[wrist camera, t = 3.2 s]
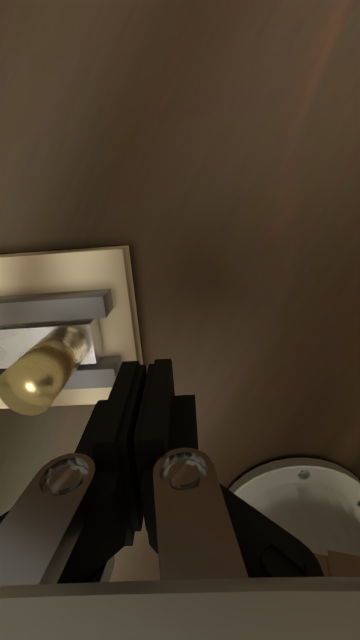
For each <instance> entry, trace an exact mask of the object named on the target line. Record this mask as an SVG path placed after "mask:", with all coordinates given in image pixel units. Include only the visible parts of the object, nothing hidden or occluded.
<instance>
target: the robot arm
mask: <svg viewBox="0 0 360 640" xmlns="http://www.w3.org/2000/svg"><path fill="white" fill-rule="evenodd" d="M143 515H144V519H145V525H146V530H147V531H148V538H149V544H150V546H151V547H152V548H153V549H154V550H155V551H156V553H157V554H158V555H159V568H160V580H156V581H124V582H109V580H110V577H111V574H112V571H113V567H114V561H115V560H114V555H115V554H116V553H117V552H118V551H119V550H120V549H122V548H123V547H124V546H133V540H134V533H135V531H141V529H142V523H143ZM0 640H360V480H359V479H358V478H357V477H356V476H355V475H353V474H352V473H351V472H350V471H348V470H347V469H345V468H343V467H341V466H339V465H337V464H335V463H331V462H328V461H324V460H321V459H313V458H288V459H282V460H277V461H273V462H270V463H267V464H264V465H261V466H259V467H257V468H255V469H253V470H251V471H249V472H247V473H246V474H244V475H243V476H242V477H241V478H239V479H238V480H237V481H236V482H235V483H234V484H233V485H232V486H231V487H230V488H229V489H227V488H225V487H224V486H223V485H221V484H220V483H219V481H218V478H217V475H216V471H215V468H214V465H213V463H212V461H211V459H210V458H209V457H208V456H207V455H206V454H205V453H203V452H201V451H199V450H198V437H197V421H196V406H195V395H181V396H175V393H174V382H173V371H172V361H171V359H157V360H155V363H154V364H149V367H148V372H147V373H146V366H145V364H142V365H140V362H139V361H124V362H122V364H121V366H120V369H119V371H118V374H117V377H116V379H115V382H114V384H113V387H112V389H111V392H110V394H109V397H108V400H99V401H98V402H97V403H96V405H95V408H94V410H93V412H92V414H91V417H90V419H89V421H88V424H87V426H86V428H85V430H84V433H83V435H82V437H81V439H80V442H79V444H78V446H77V449H76V451H75V453H70V454H66V455H62V456H59V457H57V458H55V459H53V460H51V461H50V462H49V463H47V464H46V465H44V466H43V467H42V468H41V469H40V470H39V472H38V473H37V474H36V475H35V477H34V478H33V479H32V481H31V482H30V484H29V485H28V486H27V488H26V489H25V490H24V492H23V493H22V495H21V496H20V497H19V499H18V500H17V502H16V503H15V504H14V506H13V507H12V508H11V510H9V511H8V512H6V513H5V514H3V515H2V516H0Z"/></svg>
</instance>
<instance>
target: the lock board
mask: <svg viewBox="0 0 360 640" xmlns="http://www.w3.org/2000/svg"><path fill="white" fill-rule="evenodd" d="M97 318H98V322H99V328H100V334H101V340H102V346H103V353H102V355H101V357H100V358H99V360H98V362H97V363H96V364H80V365H79V367H78V368H77V369H76V371H75V372H74V374H73V375H72V376H71V378H70V379H69V381H68V382H67V383H66V385H65V386H64V388H63V389H62V390H61V392H60V393H59V395H58V396H57V397H56V399H55V400H54V402H53V403H52V404H51V406H65V405H86V404H96V403H97V402H98V401H99V400H108V397H109V394H110V392H111V389H112V387H113V384H114V382H115V379H116V377H117V374H118V371H119V369H120V366H121V364H122V362H124V361H139V362H140V365H142V364H143V358H142V350H141V342H140V334H139V325H138V317H137V309H136V301H135V293H134V284H133V276H132V268H131V260H130V251H129V245H127V246H113V247H99V248H86V249H72V250H58V251H44V252H30V253H16V254H2V255H0V324H16V323H32V322H48V321H65V320H81V319H97ZM6 369H7V368H5V369H0V375H1V374H2V373H3V372H4V371H5V370H6ZM4 408H9V407H7V406H6V405H5V404H4V402H3V401H2V400H1V398H0V409H4Z"/></svg>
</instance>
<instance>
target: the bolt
mask: <svg viewBox="0 0 360 640" xmlns="http://www.w3.org/2000/svg"><path fill="white" fill-rule="evenodd" d="M102 353H103V346H102V340H101V334H100V328H99V322H98V318H97V319H81V320H65V321H48V322H32V323H16V324H0V369H5V368H7V369H6V370H5V371H4V372H3V373H2V374H1V375H0V398H1V400H2V401H3V402H4V404H5V405H6V406H7V407H9V408H10V409H11V410H13V411H15V412H17V413H20V414H24V415H37V414H40V413H43V412H45V411H46V410H47V409H48V408H49V407H50V406H51V404H52V403H53V402H54V400H55V399H56V397H57V396H58V395H59V393H60V392H61V390H62V389H63V388H64V386H65V385H66V383H67V382H68V381H69V379H70V378H71V376H72V375H73V374H74V372H75V371H76V369H77V368H78V367H79V365H80V364H96V363H97V362H98V360H99V358H100V357H101V355H102Z"/></svg>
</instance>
